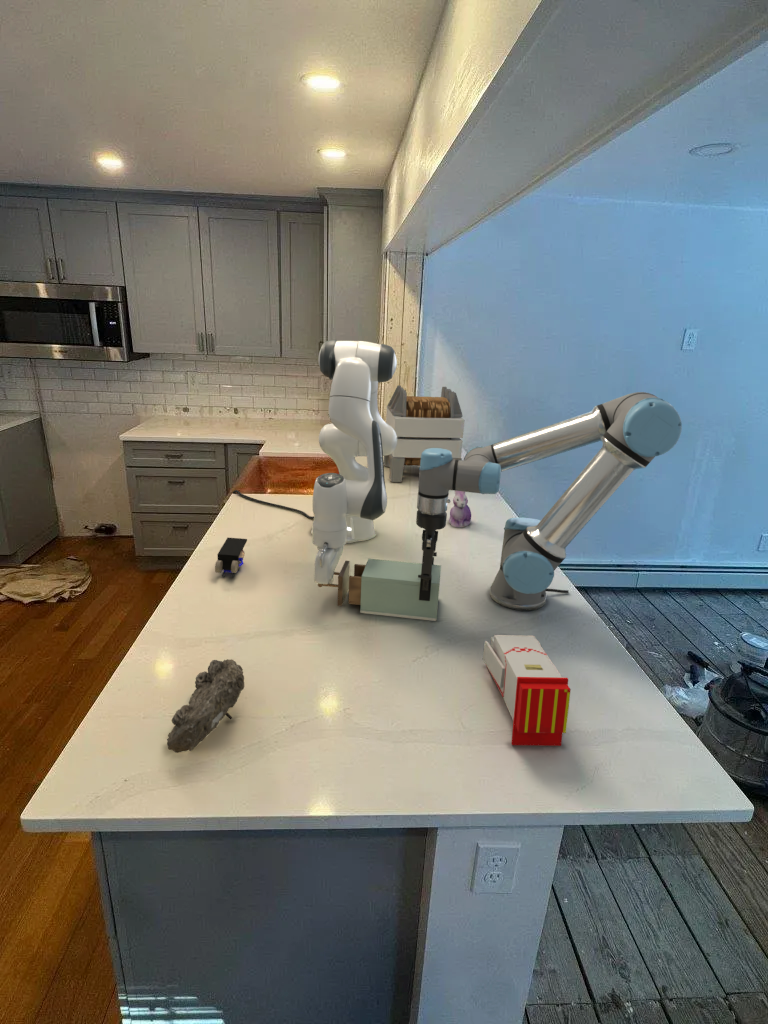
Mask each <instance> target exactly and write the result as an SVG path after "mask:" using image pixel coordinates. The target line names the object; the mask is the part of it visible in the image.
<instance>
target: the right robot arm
mask: <svg viewBox="0 0 768 1024" xmlns="http://www.w3.org/2000/svg"><path fill="white" fill-rule="evenodd" d="M682 425H683V424H682V418H681V416H680V414H679V412H678V411H677V409H676V408H675V406H673V405H672V404H671V403H670V402H669V401H667V400H665V399H663V398H660V397H658V396H656V395H654V394H652V393H650V392H646V391H635V392H631V393H628V394H625V395H622V396H620V397H616V398H613V399H611V400H608V401H606V402H602V403H600V404H597V405H595V406H593V409H591V411H589V412H586V413H583V414H580V415H577V416H574V417H571V418H568V419H564V420H562V421H559V422H556V423H553V424H549V425H547V426H544V427H540V428H539V429H534V430H531V431H528V432H526V433H522V434H519V435H517V436H514V437H513V436H512V437H511V438H507V439H505V440H501V441H498V442H495V443H492V444H489V445H486V446H481V445H480V446H479V445H478V446H474V447H472V448H470V449H469V450H468V451H467V452H466V453H465V456H464V458H463V460H456V459H452V458H453V457H452V453H451V451H449V450H446V449H442V448H429V449H426V450H424V451H423V452H422V454H421V462H420V466H419V473H418V490H417V499H416V501H417V502H416V509H417V510H416V517H415V519H416V520H415V524H416V526H417V527H419V528H421V529H422V534H421V541H422V543H421V550H422V561H421V563H422V570H421V575H418V578H421V580H420V593H419V600H423V601H430V592H431V580H432V575H431V572H432V565H435V564H434V563H435V562H434V561H435V557H437V555H438V554H437V553H438V552H437V551H436V548H437V547H436V546H437V542H438V541H439V540H438V538H439V531H440V530H443V529H444V528H446V526H447V518H448V513H447V511H448V505H449V504H450V503H451V499H450V498H449V495H450V491H454V492H455V491H464V492H465V493H474V494H481V495H496V494H498V493H499V491H500V484H501V475H502V472H505V471H508V470H511V469H514V468H518V467H521V466H524V465H527V464H531V463H534V462H537V461H540V460H544V459H546V458H550V457H553V456H557V455H559V454H563V453H566V452H570V451H573V450H576V449H579V448H582V447H586V446H588V445H589V446H590V445H592V444H595V443H600V442H601V443H602V446H601V448H600V449H599V450H598V451H597V453H596V454H595V455H594V456H593V457H592V459H591V460H590V461H589V462H588V463H587V464H586V466H585V467H584V468H583V469H582V471H581V472H580V473H579V474H578V476H577V477H576V478H575V479H574V480H573V481H572V483H571V484H570V485H569V486H568V487H567V489H566V490H565V491H564V492H563V494H562V495H561V496H559V498H558V499H557V500H556V502H555V503H554V504H553V506H552V507H551V508H550V509H549V510H548V511H547V513H546V514H545V515H544V516H543V517H542V518H541V520H540V519H536V518H531V517H522V516H521V517H511V518H508V519H507V520H506V521H505V525H504V528H503V532H504V533H503V539H502V547H501V555H500V561H499V562H500V563H499V569H498V571H497V573H496V575H495V577H494V579H493V581H492V583H491V586H490V589H489V595H490V598H491V599H492V600H493V601H494V602H495V603H496V604H498V605H500V606H503V607H504V608H508V609H511V610H516V611H534V610H538V609H541V608H542V607H544V606H545V604H546V602H547V592H550V593H560V594H569V590H567V589H566V590H565V589H556V588H549V587H550V585H551V584H552V583H553V580H554V578H555V571H556V570H557V568H558V567H559V566H560V565H561V564H562V563H563V561H564V560H565V559H567V547H568V546H569V545H570V544H571V542H572V541H573V540H574V539H575V538H576V537H577V536H578V534H579V533H581V531H582V530H583V529H584V528H585V526H586V525H587V524H588V523H589V522H590V521H591V519H592V518H593V517H594V516H595V515H596V514H597V513H598V512H599V511H600V509H602V507H604V505H605V504H606V503H607V502H608V500H609V499H610V498H611V497H612V496H613V494H614V493H615V492H616V491H617V490H618V489H619V488H620V487H621V485H622V484H623V483H624V482H625V481H626V480H627V479H628V477H630V475H632V473H633V472H634V471H635V470H639V469H646V468H647V466H648V465H649V464H650V463H651V462H652V461H653V460H654V459H655V458H656V457H659V456H662V455H664V454H667V453H668V452H669V451H671V450H672V449H673V448H674V447H675V446H676V444H677V443H678V441H679V439H680V438H681V434H682V430H683V426H682Z"/></svg>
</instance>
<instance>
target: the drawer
mask: <svg viewBox="0 0 768 1024" xmlns="http://www.w3.org/2000/svg"><path fill="white" fill-rule="evenodd" d="M365 566H366V564H359V563H354V565H353V575H351V573H350V571H351V570H350V569H351V568H350V567H351V561H350V560H345V561H344V563H343V565H342V567H341V569H340V571H339V572H338V571H334V576H337V583H336V584H335V583H332V584H318V583H317V587H318V588H323V587H329V588H337V604H336V605H337V607H343V604H344V602H345V599H346V597H347V595H348V605H355V606H356V605H357V606H361V578H362V574H363V571H364V569H365Z"/></svg>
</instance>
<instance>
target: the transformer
mask: <svg viewBox="0 0 768 1024" xmlns="http://www.w3.org/2000/svg"><path fill="white" fill-rule="evenodd" d="M440 393H441V394H440V396H415V395H414V396H413V395H412V396H411V395H407V394H408V393H407V390H406V389H404V388H403V387H402V385H399V384H398V385H397V386H396V388H395V390H394V392H393V394H392V395H391V398H390V400H389V402H388V404H387V405H386V413H385V414H386V415H385V422H386V423H387V424H388V425H390V426H391V427H392V428H393V429H394V430H395V432H396V435H397V445H396V448H395V450H394V451H393V452H392V454H390V455H386V456H383V464H384V467H388V468H389V475H388V476H389V477H388V478H389V480H390V482H391V483H402V482H403V475H404V469H405V466H406V467H407V466H411V467H412V466H413V467H415V466H416V467H417V466H418V467H420V462H421V454H422V452H423V451H424V450H426V449H429V448H442V449H446V450H449V451H451V453H452V457H453V458H452V459H456V460H462V453H463V442H464V441H463V440H462V439H463V438H464V431H465V430H464V429H465V419H464V418H463V411H462V408H461V405H460V402H459V398H458V395H457V392H455V391H453V390H452V389H451V388H447V386H442V387H441V392H440Z"/></svg>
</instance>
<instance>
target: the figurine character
mask: <svg viewBox="0 0 768 1024" xmlns="http://www.w3.org/2000/svg"><path fill="white" fill-rule="evenodd" d="M247 542H248V538H240V537H226V539H225V541H224V543H223V544H222V546H221V547H220V549H219V551H218V552H217V560H216V562H215V564H214V572H215V573H221V577H222V578H224V577H225V576H226V574H227V573H230V574H231V573H232V574H231V578H234V577H235V575H236V573H237V572H239V571H240V567H242V566H243V565H244V564H245V562H244V558H245V551H244V547H245V546H246V544H247Z"/></svg>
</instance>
